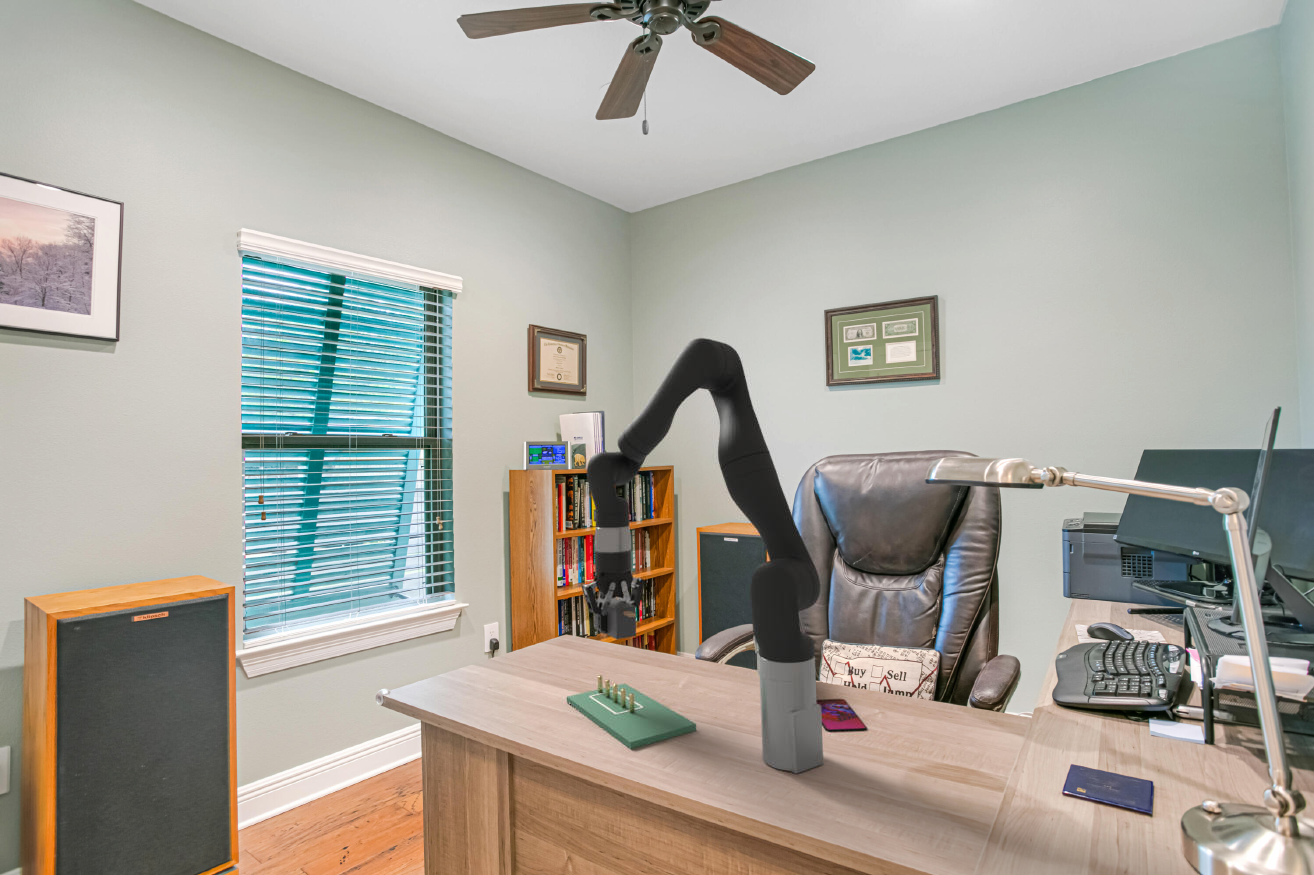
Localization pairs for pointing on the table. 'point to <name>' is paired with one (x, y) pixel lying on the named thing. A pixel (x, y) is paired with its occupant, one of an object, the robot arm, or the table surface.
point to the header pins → (616, 694)
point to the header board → (631, 717)
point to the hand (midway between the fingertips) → (614, 630)
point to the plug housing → (619, 619)
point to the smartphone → (839, 716)
